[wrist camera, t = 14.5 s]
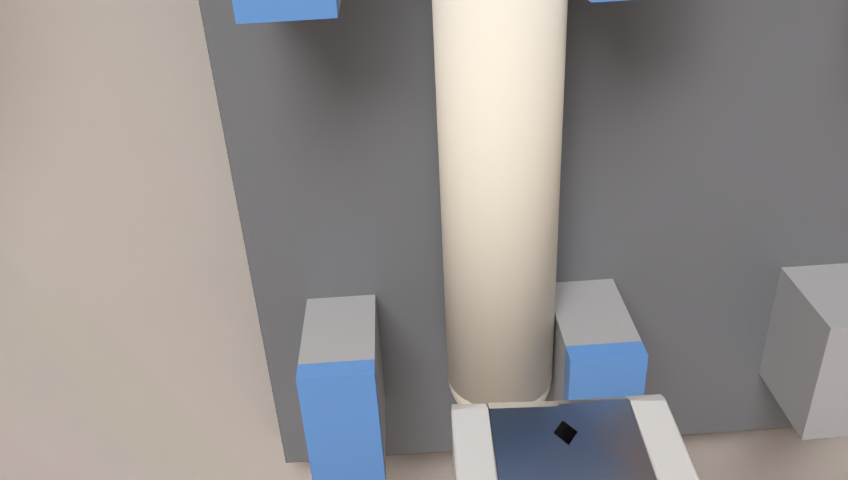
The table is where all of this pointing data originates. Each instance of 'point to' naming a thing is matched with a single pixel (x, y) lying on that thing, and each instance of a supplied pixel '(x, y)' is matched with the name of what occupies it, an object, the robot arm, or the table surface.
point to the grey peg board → (578, 215)
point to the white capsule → (499, 191)
